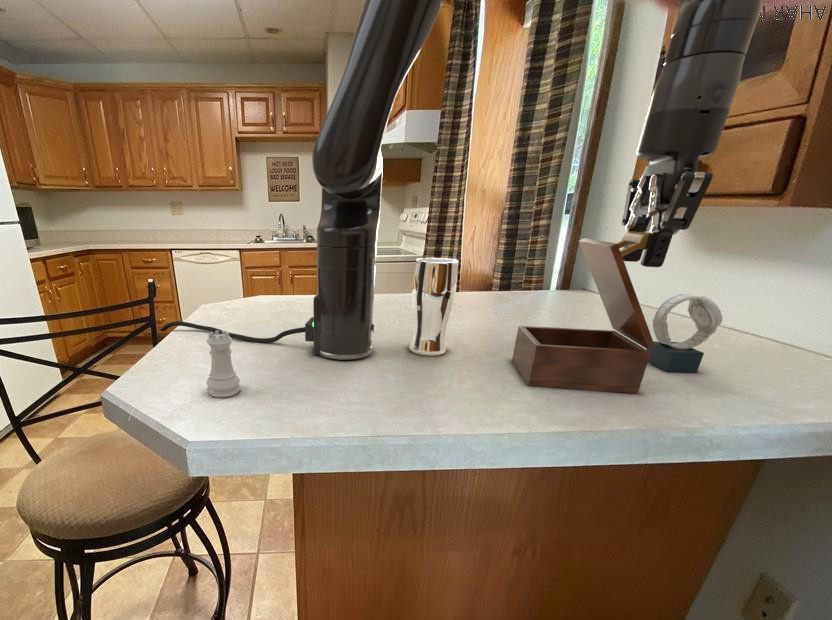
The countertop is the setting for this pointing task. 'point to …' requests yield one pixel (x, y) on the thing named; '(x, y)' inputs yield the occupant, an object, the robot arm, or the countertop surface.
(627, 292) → the panel with brass rod
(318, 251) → the robot arm
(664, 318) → the watch
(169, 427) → the countertop surface
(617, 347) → the brown wooden box
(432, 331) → the beer glass
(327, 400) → the countertop surface
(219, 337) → the rook chess piece
